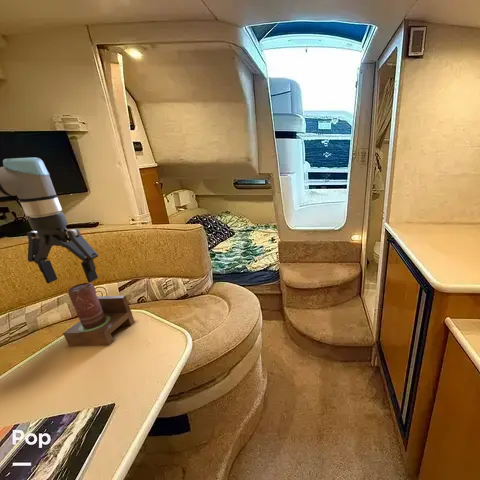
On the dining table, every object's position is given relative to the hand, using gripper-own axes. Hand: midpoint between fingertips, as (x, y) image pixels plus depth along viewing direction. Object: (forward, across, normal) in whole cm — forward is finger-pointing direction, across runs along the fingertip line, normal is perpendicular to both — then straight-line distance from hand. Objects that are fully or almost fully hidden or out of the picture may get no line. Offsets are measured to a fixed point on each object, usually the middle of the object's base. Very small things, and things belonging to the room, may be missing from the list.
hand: (72, 280), depth 83 cm
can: (+17, -1, -1) cm, 17 cm away
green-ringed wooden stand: (+23, -1, -2) cm, 23 cm away
